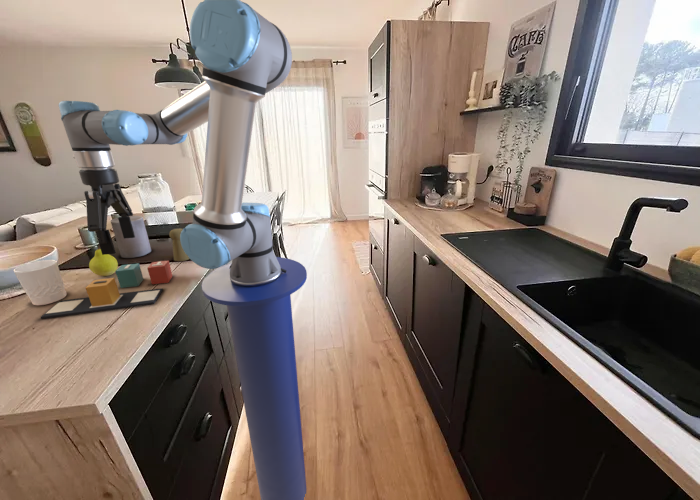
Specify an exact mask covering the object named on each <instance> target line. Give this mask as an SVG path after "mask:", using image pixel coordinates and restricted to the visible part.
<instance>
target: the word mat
mask: <svg viewBox="0 0 700 500" xmlns="http://www.w3.org/2000/svg"><path fill="white" fill-rule="evenodd" d="M163 290H164V288H163V287H162V288H154V289H144V290H137V291H128V292H119V293H120V296H119V298H118V299H117V300H116V301H115V302H114V303H113V304H109V305H101V306H93V307H92V304H91V302H90V299H89V296H87V297H86V296H85V297H79V298H70V299H61V300H59V301H57V303H56V304H54V306H52V307H51V308H50V309H48V310H47V311H46V312H45V313H44V314H42V315H41V316H40V320H45V319H51V318H59V317H68V316H74V315H82V314H89V313H97V312H106V311H111V310H121V309H128V308H135V307H141V306H142V307H143V306H149V305H155V304H156V302H157V300H158V299H159V297H160V296H161V294H162V292H163Z"/></svg>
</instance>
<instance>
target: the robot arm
mask: <svg viewBox="0 0 700 500" xmlns="http://www.w3.org/2000/svg"><path fill="white" fill-rule="evenodd" d="M189 40H190V44H191V48H192V49H193V50H194V54H195V56H196V58H197V59H198V60H199V62H200V63H201V64H202V77H201V78H202V79H203V80H204V81H203V82H202V83H200V84H198V85H197V86H195V87H194V88H193V89H191V90H189V91H188V92H186V93H185V94H183V95H182V96H180V97H179V98H177V99H176V100H174V101H173V102H171V103H169V104H168V105H167V106H166V107H164V108H163V109H160V110H159V111H158V112H156V113H142V112H133V111H132V110H130V111H129V110H125V109H122V110H121V109H113V110H101V109H100V106H99V105H98V104H97V103H95V102H90V101H81V100H61V101H60V102H59V103H58V109H59V113H60V116H61V117H60V120H61V122H62V124H63V127H64V130H65V133H66V136H67V139H68V142H69V145H70V148H71V151H72V154H73V155H72V159H74V160H75V162H76V167H77V168H79V169H80V170H79V171H78V173H79V176H80V179H81V183H82V184H83V185H84V186H90V188H91V189H90V190H85V191H84V192H83V193H84V197H85V203H86V204H85V205H86V223H87V231H88V232H91V233H92V232H94V233H95V235H96V239H97V242H98V247H99V248H100V249H101V252H102V255H106V254H109V255H115V254H116V250H115V249H116V248H115V246H114V242H113V239H112V235H111V232H110V230H109V229H107V225H108V215H109V209H110V208H112V209H113V210H114V211H115V213H116V214H117V215H118V216H119V217H117V218H118V220H119V223H120V227H121V230H122V234H123V237H124V238H135V235H134V231H133V227H132V224H131V220H130V217H129V216H134V212H132V211H133V210H132V208H131V206H130V204H129V202H128V200H127V198H126V197H125V196H126V195H124V193H123V190H122V188H121V184H120V183H119V182H120V178H119V175H118V171H117V169H116V168H114V167H115V166H116V163H115V159H114V156H113V152H112V149H111V146H110V145H116V146H126V147H128V146H139V145H140V146H141V145H170V146H173V145H176V144H182V143H184V142H185V141H186V139H187V137H188V134H189V133H190V132H192V131H194V130H195V129H197V128H199V127H201V126H202V125H204V124H206V123H207V129H206V143H205V155H204V167H203V181H202V191H201V192H202V193H201V194H202V195H201V202H200V203H199V204H197V205H195V206H194V208H193V211H192V212H193V213H192V214H193V215H192V223H189V224H187V225H186V226H185V227H184V228H182V229H183V230H182V232H181V235H180V241H181V245H182V248H183V250H184V252H185V253H186V254H187V255H188V257H189V258H190V259H189V260H190V261H192V262H193V263H194V264H195V265H197V266H199V267H201V268H203V269H207V270H216V269H217V268H219V267H222V266H224V265H226V264H229V263H232V264H231V266H230V268H231V269H229V270H230V280H231V282H232V283H233V284H234V285H237V286H240V287H258V286H263V285H267V284H270V283H272V282H274V281H276V280H277V279H278V278H279V277H280V276H281V271H282V272H284V273H286V271H287V270H284V269H282V268H281V267H280V264H279V262H278V260H277V258H276V257H277V256H276V253H275V252H274V244H273V234H272V233H273V232H272V224H271V223H272V222H271V215H270V209H269V206H268V205H267V204H265V203H262V202H243V201H244V200H243V198H244V192H245V185H246V178H247V177H246V176H247V172H248V162H249V156H250V150H251V149H250V148H251V142H252V135H253V127H254V121H255V113H256V107H257V106H256V105H257V103H258V102H259V101H261V100H263V99H264V98H265V97H266V94H267V93H270V92H271V91H273V90H274V89H276V88H277V87H279V86H280V85H281V84H282V83H284V81H285V80H286V79H287V77H289V74H290V72H291V68H292V64H293V53H292V49H291V45H290V42H289V40H288V39H287V37H286V34H284V32H283V31H282V29H280V28H279V27H278V26H277V25H276V24H275V23H273V22H271V21H269V20H268V19H267V18H265V17H264V16H263V15H262V14H260V13H259V12H258V11H256V10H255V9H254V8H253V7H252V6H251V5H250V4H248V3H246V2H244V1H241V0H203V1H200V2H198V5H197V6H196V7H195V8H194V11H193V13H192V16H191V18H190V23H189Z"/></svg>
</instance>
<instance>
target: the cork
mask: <svg viewBox="0 0 700 500" xmlns="http://www.w3.org/2000/svg"><path fill="white" fill-rule="evenodd" d="M183 229H184V228H173V229H171V230H170V231H169V234H168V236H169V238H170V239H171V241H172V255H173V261H174V262H184V261H189V260H191V259H190V258H189V257H188V255H187V254H186V253H185V252H184V250H183V248H182V245H181V241H180V235H181V232H182V230H183Z"/></svg>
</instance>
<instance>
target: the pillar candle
mask: <svg viewBox="0 0 700 500" xmlns="http://www.w3.org/2000/svg"><path fill="white" fill-rule="evenodd" d="M129 217H130V220H131V224H132V227H133V231H134V235H135V238H124V237H123V234H122V230H121V227H120V223H119V220H118V217H115V218H111V220H110V225H111V228H112V232H113V234H114V238H115V241H116V244H117V248H118V251H119V255H120V257H121V258H123V259H133V258H139V257H143V256H146V255H147V254H150V253H151V252H152V248H151V243H150V240H149V235H148V232H147V228H146V225H145V220H144V216H142V215H133V216H129Z"/></svg>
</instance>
